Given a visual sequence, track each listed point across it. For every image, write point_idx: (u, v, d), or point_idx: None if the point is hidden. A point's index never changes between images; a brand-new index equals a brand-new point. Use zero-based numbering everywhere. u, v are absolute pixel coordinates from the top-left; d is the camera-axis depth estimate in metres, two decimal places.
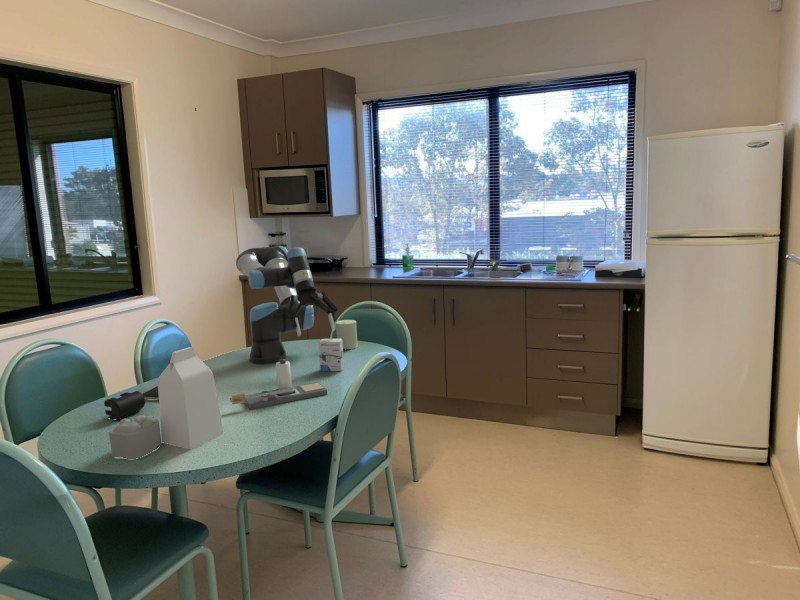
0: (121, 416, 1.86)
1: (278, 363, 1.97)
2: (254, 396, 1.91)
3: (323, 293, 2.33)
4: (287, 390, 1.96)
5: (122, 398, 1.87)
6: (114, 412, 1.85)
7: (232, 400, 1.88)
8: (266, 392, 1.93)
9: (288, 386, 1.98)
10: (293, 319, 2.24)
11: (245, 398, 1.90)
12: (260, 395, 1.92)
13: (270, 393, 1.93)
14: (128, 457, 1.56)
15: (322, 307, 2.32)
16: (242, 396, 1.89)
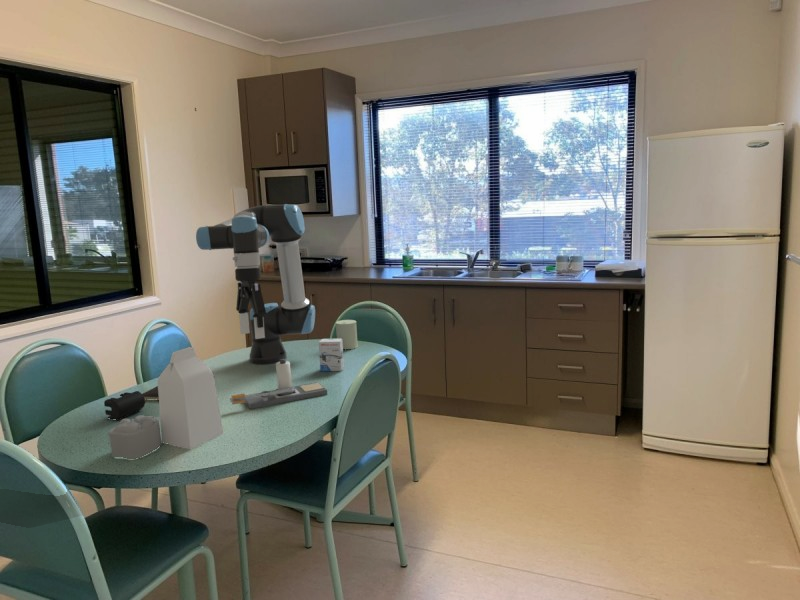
0: (121, 416, 1.86)
1: (278, 363, 1.97)
2: (254, 396, 1.91)
3: (251, 287, 1.77)
4: (287, 390, 1.96)
5: (122, 398, 1.87)
6: (114, 412, 1.85)
7: (232, 400, 1.88)
8: (266, 392, 1.93)
9: (288, 386, 1.98)
10: (240, 314, 1.90)
11: (245, 398, 1.90)
12: (260, 395, 1.92)
13: (270, 393, 1.93)
14: (128, 457, 1.56)
15: None
16: (242, 396, 1.89)
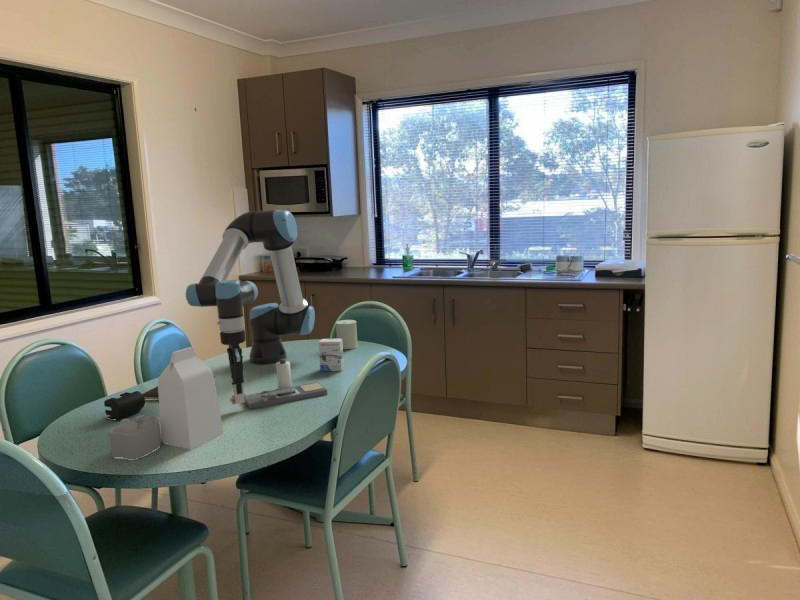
0: (121, 416, 1.86)
1: (278, 363, 1.97)
2: (254, 396, 1.91)
3: (234, 359, 1.81)
4: (287, 390, 1.95)
5: (122, 398, 1.87)
6: (114, 412, 1.85)
7: (232, 400, 1.88)
8: (266, 392, 1.93)
9: (288, 386, 1.98)
10: None
11: (245, 398, 1.90)
12: (260, 395, 1.92)
13: (270, 393, 1.93)
14: (128, 457, 1.56)
15: None
16: None
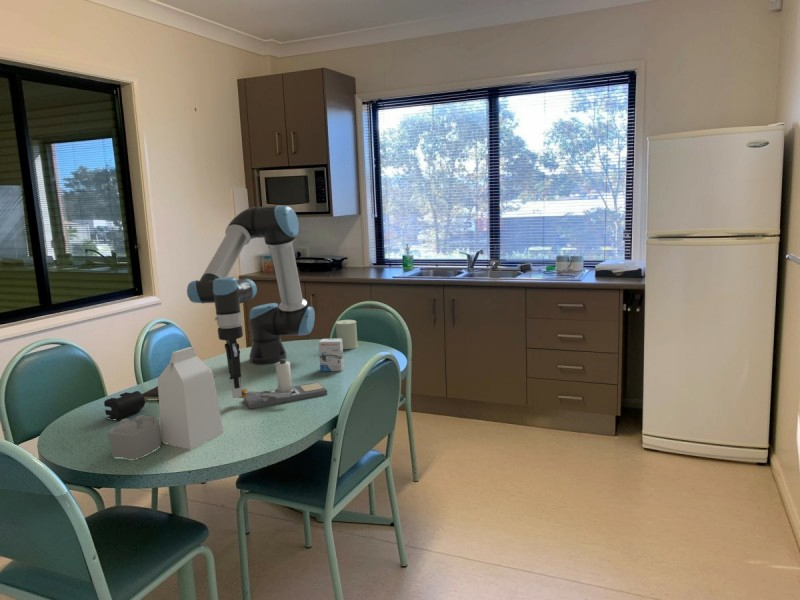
0: (121, 416, 1.86)
1: (278, 363, 1.97)
2: (254, 394, 1.93)
3: (231, 353, 1.85)
4: (285, 395, 1.91)
5: (122, 398, 1.87)
6: (114, 412, 1.85)
7: None
8: (265, 392, 1.93)
9: (288, 386, 1.98)
10: None
11: (246, 394, 1.94)
12: (259, 394, 1.93)
13: (268, 394, 1.92)
14: (128, 457, 1.56)
15: None
16: (243, 391, 1.94)
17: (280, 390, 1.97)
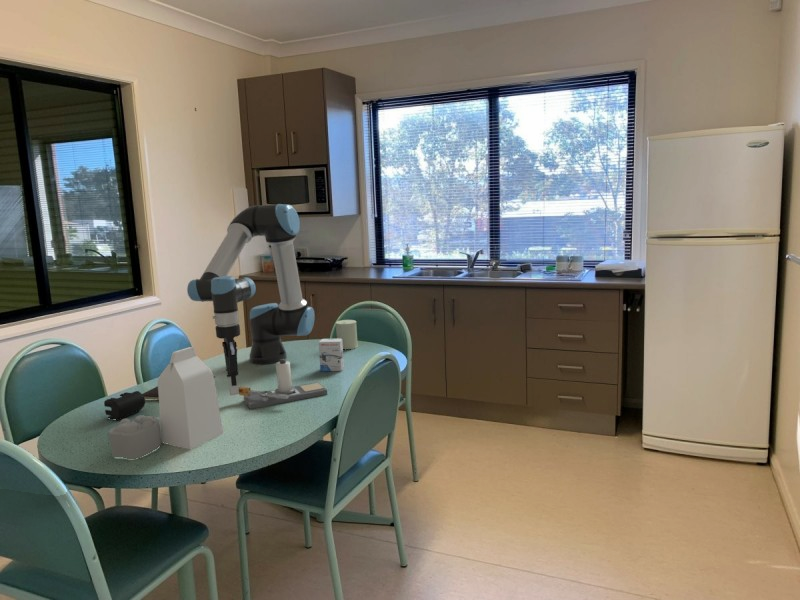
0: (121, 416, 1.86)
1: (278, 363, 1.97)
2: (255, 393, 1.94)
3: (228, 352, 1.88)
4: (281, 397, 1.89)
5: (122, 398, 1.87)
6: (114, 412, 1.85)
7: None
8: (265, 392, 1.93)
9: (288, 386, 1.98)
10: (229, 375, 1.96)
11: (248, 392, 1.95)
12: (259, 394, 1.93)
13: (267, 395, 1.92)
14: (128, 457, 1.56)
15: None
16: (246, 390, 1.96)
17: (280, 390, 1.97)
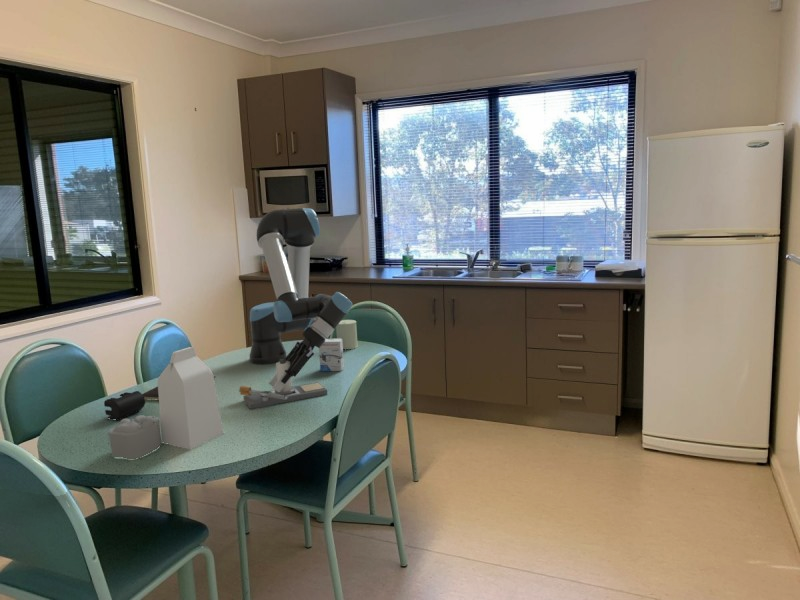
0: (121, 416, 1.86)
1: (278, 363, 1.97)
2: (255, 393, 1.94)
3: (306, 351, 1.95)
4: (280, 397, 1.89)
5: (122, 398, 1.87)
6: (114, 412, 1.85)
7: (240, 390, 1.98)
8: (265, 392, 1.93)
9: (288, 386, 1.97)
10: None
11: (249, 392, 1.96)
12: (260, 394, 1.93)
13: (267, 395, 1.92)
14: (128, 457, 1.56)
15: None
16: (247, 389, 1.96)
17: None
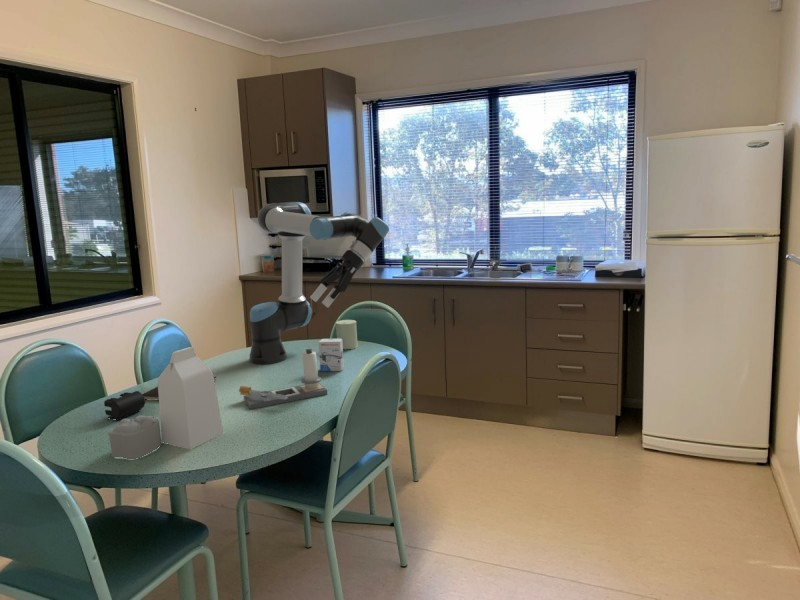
0: (121, 416, 1.86)
1: (305, 353, 2.01)
2: (255, 393, 1.94)
3: (349, 267, 2.03)
4: (280, 397, 1.89)
5: (122, 398, 1.87)
6: (114, 412, 1.85)
7: (240, 390, 1.98)
8: (265, 392, 1.93)
9: (314, 376, 2.01)
10: None
11: (249, 392, 1.96)
12: (260, 394, 1.93)
13: (267, 395, 1.92)
14: (128, 457, 1.56)
15: None
16: (247, 389, 1.96)
17: (306, 380, 2.01)
